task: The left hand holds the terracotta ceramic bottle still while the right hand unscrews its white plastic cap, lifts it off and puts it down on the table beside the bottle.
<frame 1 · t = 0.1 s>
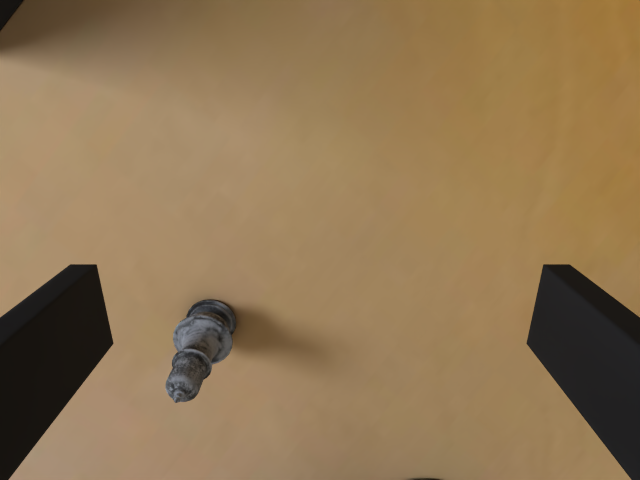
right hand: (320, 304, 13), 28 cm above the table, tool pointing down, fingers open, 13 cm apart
salt shaker: (211, 320, 45), on the table
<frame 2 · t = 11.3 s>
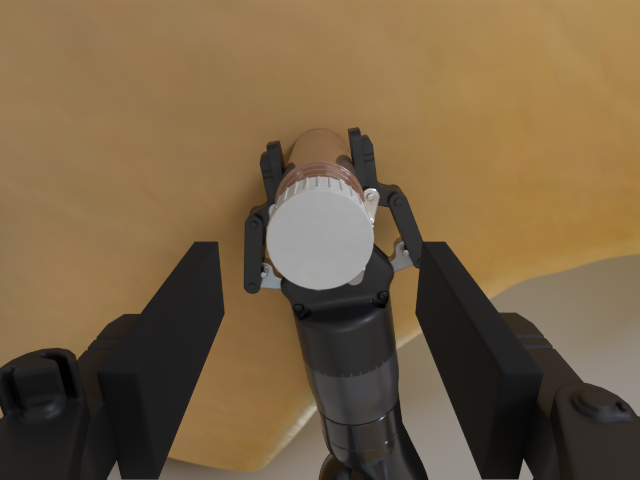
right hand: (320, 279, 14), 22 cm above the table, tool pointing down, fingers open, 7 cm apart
bottle: (319, 158, 35), on the table, touching left hand
cap: (319, 239, 18), point 19 cm above the table, screwed on, not yet turned
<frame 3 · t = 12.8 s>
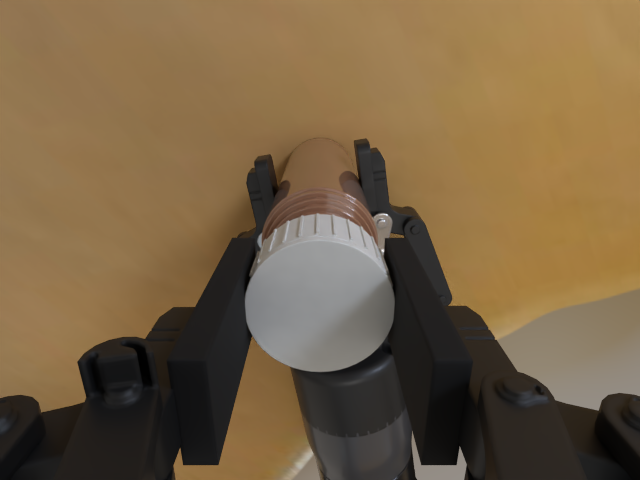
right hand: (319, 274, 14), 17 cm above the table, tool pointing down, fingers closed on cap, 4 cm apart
bottle: (319, 171, 30), on the table, touching left hand
cap: (319, 305, 13), point 19 cm above the table, screwed on, not yet turned, touching right hand
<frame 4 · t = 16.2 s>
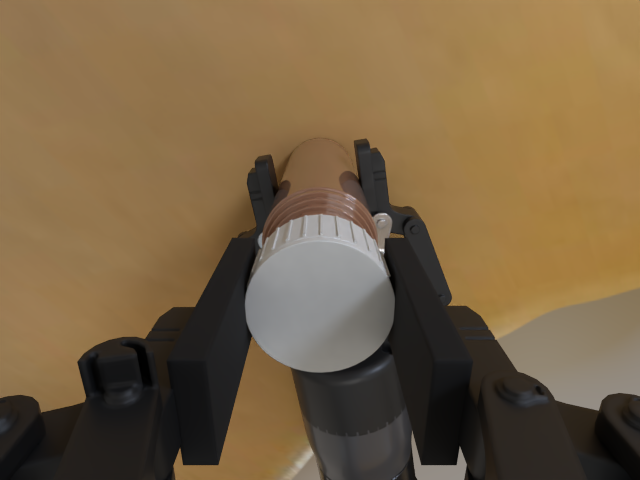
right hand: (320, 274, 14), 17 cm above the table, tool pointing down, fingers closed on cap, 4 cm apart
bottle: (319, 171, 30), on the table, touching left hand
cap: (319, 305, 13), point 19 cm above the table, turned 113° so far, risen 0.1 cm, still on its thread, touching right hand
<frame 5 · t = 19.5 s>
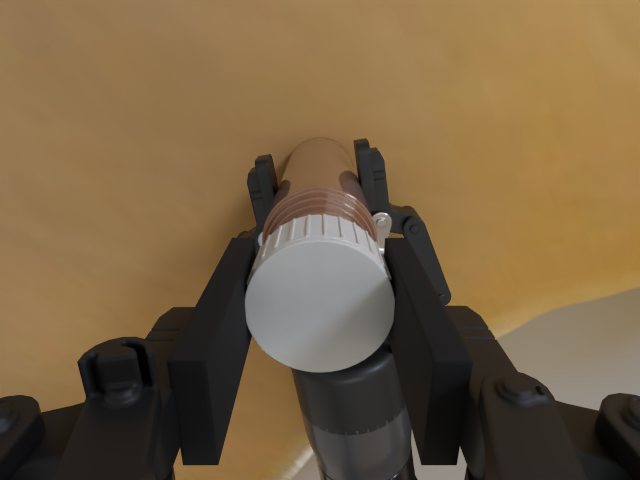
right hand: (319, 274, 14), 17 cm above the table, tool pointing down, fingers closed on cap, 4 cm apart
bottle: (319, 171, 30), on the table, touching left hand
cap: (319, 305, 13), point 19 cm above the table, turned 226° so far, risen 0.2 cm, still on its thread, touching right hand
when the right hand's fingers open (2 cm above the table, at t = 30.2 s): cap drops 2 cm, point 2 cm above the table.
when the left hand's fingers open (7 cm above the table, at t = 31.4 s): bottle stays where it is, on the table.
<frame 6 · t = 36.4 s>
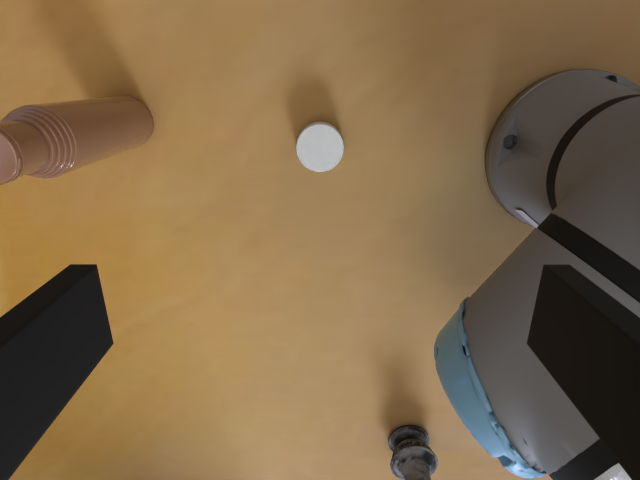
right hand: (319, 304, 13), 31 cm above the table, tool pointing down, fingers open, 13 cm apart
bottle: (128, 121, 41), on the table
salt shaker: (408, 440, 56), on the table
cap: (320, 147, 40), point 2 cm above the table, off its thread
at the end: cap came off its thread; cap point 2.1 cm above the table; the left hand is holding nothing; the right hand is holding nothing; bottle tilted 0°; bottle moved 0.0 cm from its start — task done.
